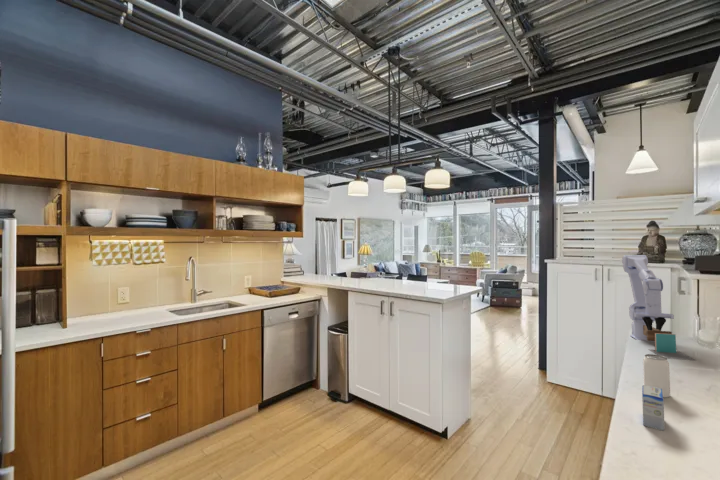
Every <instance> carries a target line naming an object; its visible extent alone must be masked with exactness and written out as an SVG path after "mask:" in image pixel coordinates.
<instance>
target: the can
mask: <svg viewBox="0 0 720 480" xmlns="http://www.w3.org/2000/svg"><path fill="white" fill-rule="evenodd" d="M642 365H643V369H642V370H643V385H646V386H652V387H656V388H660V389H662V391H663V399H664V398H669V397H671V380H670V379H671V377H670V373H671V372H670V363H669V361H668V358H666V357H663V356H659V355H656V354H652V353H651V354H650V353H649V354H647V353H646V354H645V355H644V358H643V362H642Z"/></svg>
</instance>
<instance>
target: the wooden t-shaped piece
mask: <svg viewBox="0 0 720 480" xmlns="http://www.w3.org/2000/svg"><path fill="white" fill-rule="evenodd" d="M655 333H663V334H673V332H672V331H669V330H661V331H660V330H658V329H656V327H653V326H652V330H648V329H647V326H646V325H643V334H644V335H646V336H647V340H646V341H650V342H651V341H652V342H655Z"/></svg>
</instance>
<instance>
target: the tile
mask: <svg viewBox="0 0 720 480" xmlns="http://www.w3.org/2000/svg"><path fill="white" fill-rule="evenodd" d="M676 337H677V336H676V334H674V333H672V334H663V333H655V341H654V346H655V348H654V350H655V351H656V352H669V353H676V351H677V339H676Z"/></svg>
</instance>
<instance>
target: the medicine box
mask: <svg viewBox="0 0 720 480" xmlns="http://www.w3.org/2000/svg"><path fill="white" fill-rule="evenodd" d="M641 392H642V393H641V394H642V395H641V396H642V397H641V398H642V400H641V401H642V425H643V426H644V427H648V428H652V429H656V430H659V431H665V399H664V398H663V391H662V389H660V388H656V387H652V386H646V385H644V384H643V385H642V391H641Z"/></svg>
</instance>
